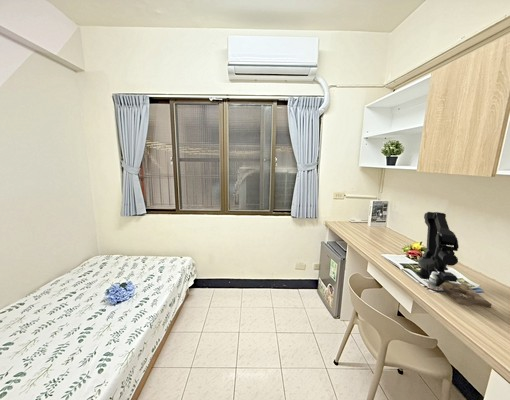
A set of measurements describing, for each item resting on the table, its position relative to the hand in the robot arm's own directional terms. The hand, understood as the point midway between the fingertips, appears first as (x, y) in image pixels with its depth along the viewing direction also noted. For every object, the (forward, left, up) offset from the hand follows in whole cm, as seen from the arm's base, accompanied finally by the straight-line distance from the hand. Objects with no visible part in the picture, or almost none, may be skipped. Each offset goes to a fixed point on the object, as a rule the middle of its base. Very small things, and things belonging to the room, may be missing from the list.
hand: (433, 283), depth 117 cm
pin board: (+3, +12, -3) cm, 13 cm away
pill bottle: (0, 0, -3) cm, 3 cm away
